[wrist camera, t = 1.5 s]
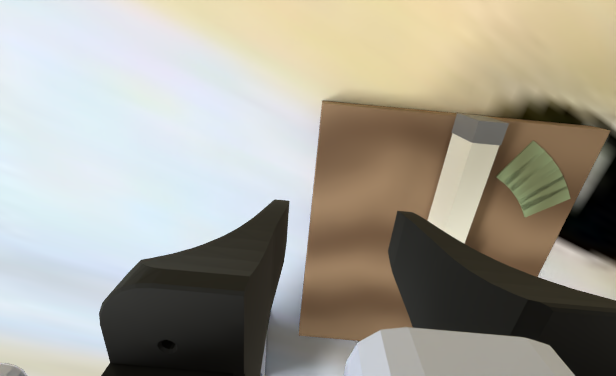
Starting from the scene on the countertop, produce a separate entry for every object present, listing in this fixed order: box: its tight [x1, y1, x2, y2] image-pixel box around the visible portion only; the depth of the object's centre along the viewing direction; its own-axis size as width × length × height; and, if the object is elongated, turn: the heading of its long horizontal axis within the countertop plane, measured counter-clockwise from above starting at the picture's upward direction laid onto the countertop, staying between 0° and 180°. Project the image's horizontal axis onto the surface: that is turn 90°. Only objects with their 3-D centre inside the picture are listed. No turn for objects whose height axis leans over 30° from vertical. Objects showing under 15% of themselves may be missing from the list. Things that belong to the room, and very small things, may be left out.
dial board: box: [299, 101, 610, 341], centre depth 22 cm, size 20×18×2 cm
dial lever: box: [427, 113, 509, 244], centre depth 19 cm, size 12×3×3 cm, turn 175°
